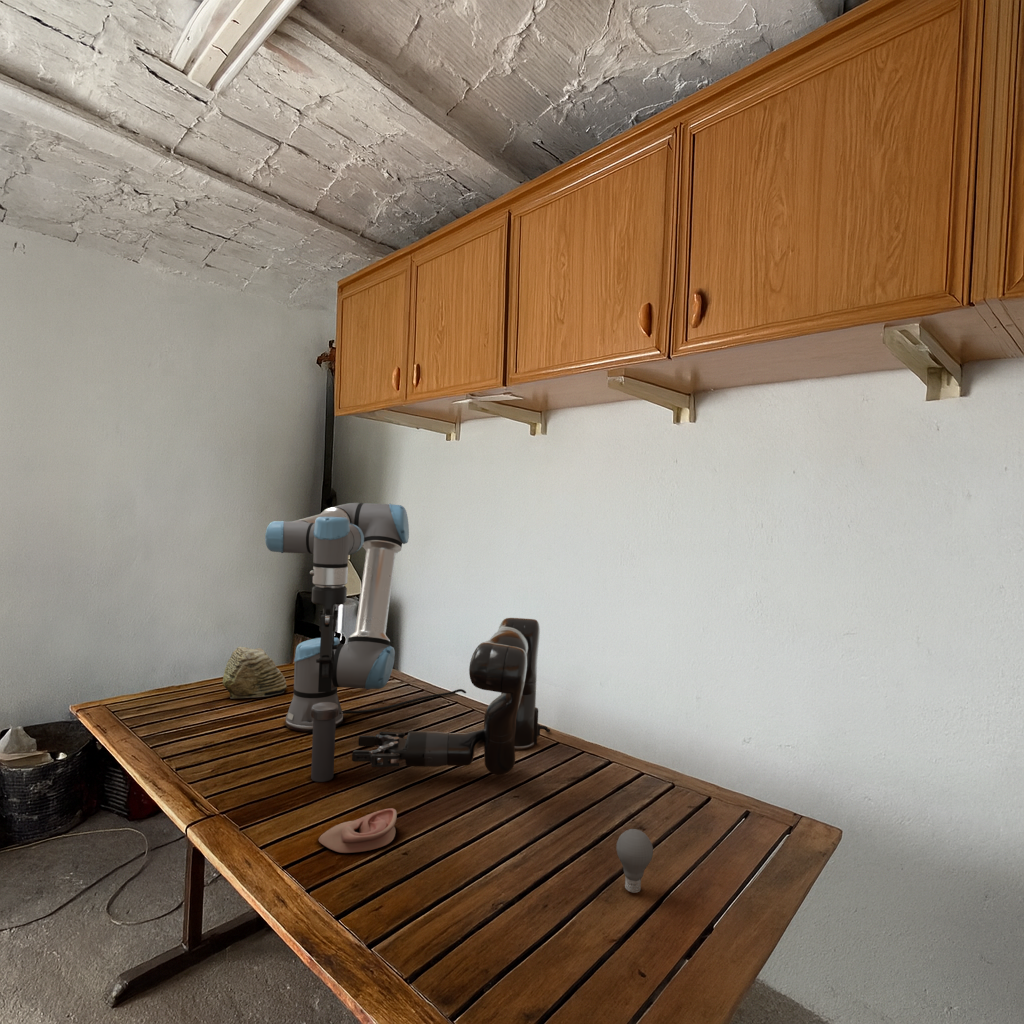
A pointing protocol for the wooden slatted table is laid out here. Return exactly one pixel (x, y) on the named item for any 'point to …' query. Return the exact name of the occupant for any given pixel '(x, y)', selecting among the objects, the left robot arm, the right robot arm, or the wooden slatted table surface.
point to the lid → (324, 711)
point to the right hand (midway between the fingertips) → (355, 748)
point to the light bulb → (634, 857)
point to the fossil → (252, 674)
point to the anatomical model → (362, 833)
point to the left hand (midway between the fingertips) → (325, 684)
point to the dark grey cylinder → (323, 750)
